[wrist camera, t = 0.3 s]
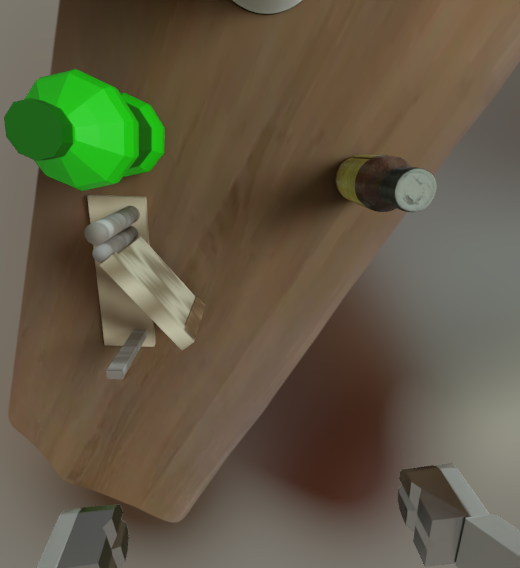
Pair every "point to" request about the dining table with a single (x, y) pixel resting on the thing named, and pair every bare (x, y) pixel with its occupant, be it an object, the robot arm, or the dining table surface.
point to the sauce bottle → (385, 183)
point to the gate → (151, 285)
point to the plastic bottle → (85, 130)
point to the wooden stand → (113, 299)
